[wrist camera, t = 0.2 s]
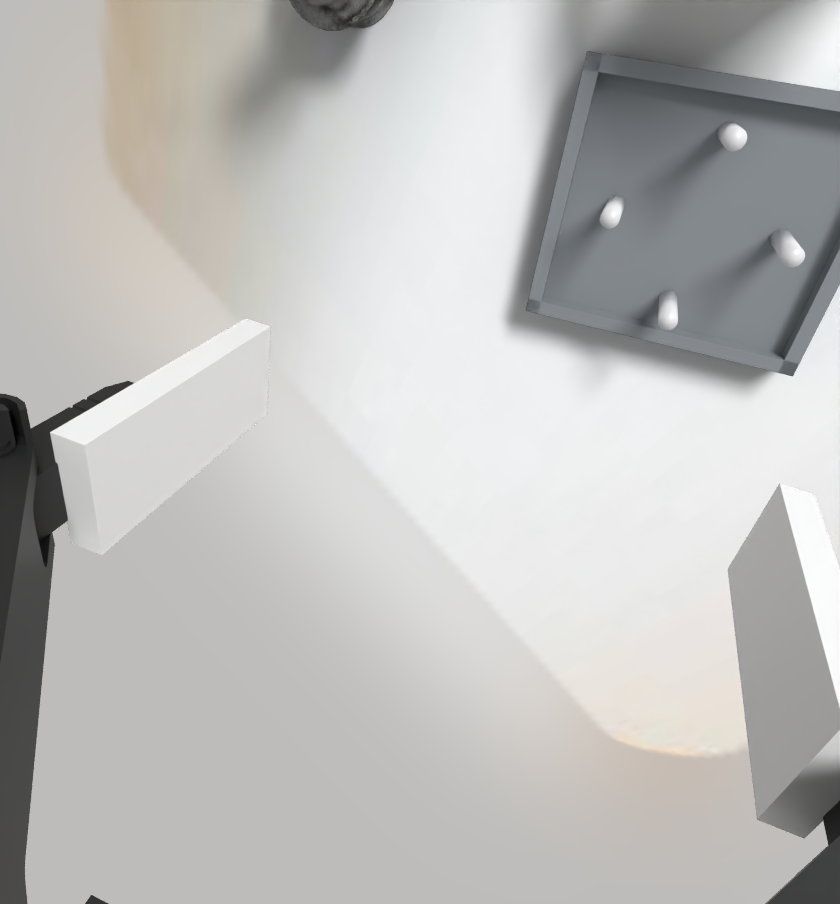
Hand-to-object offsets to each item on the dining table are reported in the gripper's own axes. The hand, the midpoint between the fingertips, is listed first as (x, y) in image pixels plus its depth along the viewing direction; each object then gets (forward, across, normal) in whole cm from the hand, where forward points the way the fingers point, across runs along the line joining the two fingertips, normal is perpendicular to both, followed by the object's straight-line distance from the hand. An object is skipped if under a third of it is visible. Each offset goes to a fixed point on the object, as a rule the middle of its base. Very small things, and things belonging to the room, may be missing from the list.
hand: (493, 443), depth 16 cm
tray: (+27, +5, +2) cm, 28 cm away
